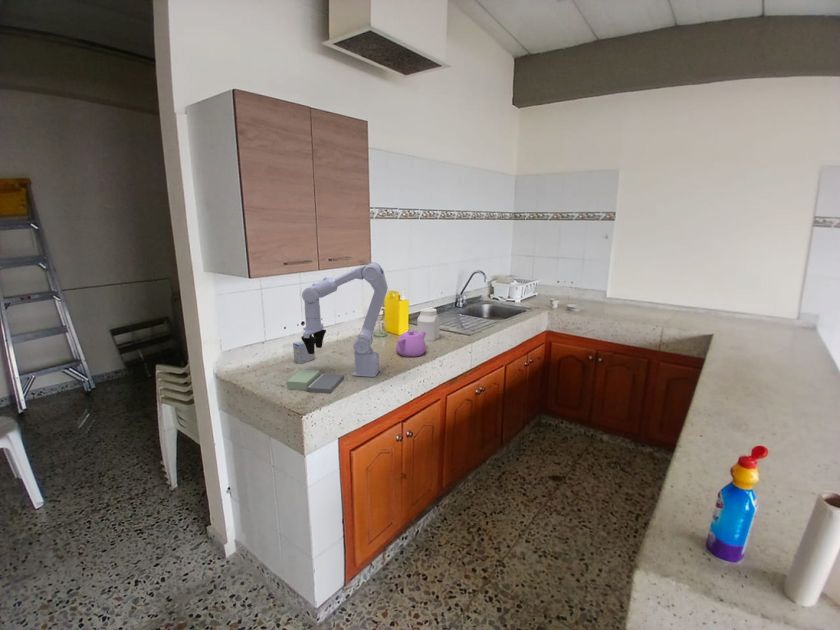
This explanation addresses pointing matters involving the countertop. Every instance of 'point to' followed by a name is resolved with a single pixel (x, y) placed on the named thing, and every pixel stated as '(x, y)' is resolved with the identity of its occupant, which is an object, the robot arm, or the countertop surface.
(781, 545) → the countertop surface
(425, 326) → the jar
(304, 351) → the medicine box
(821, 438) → the countertop surface
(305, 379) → the thick sage green slab
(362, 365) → the robot arm
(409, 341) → the teapot
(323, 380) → the ticket body
